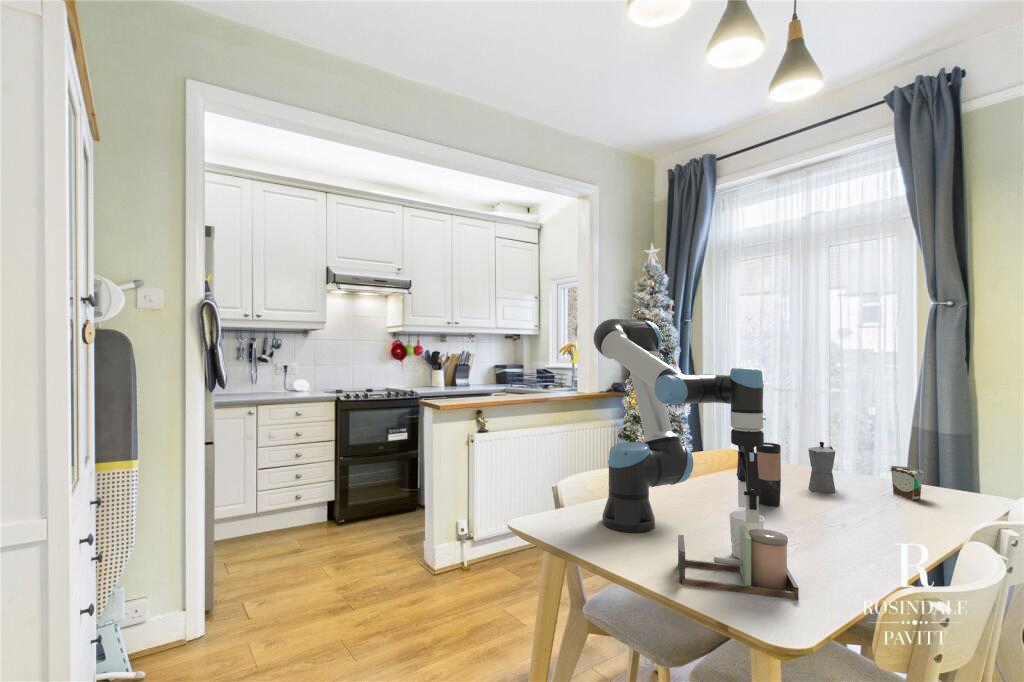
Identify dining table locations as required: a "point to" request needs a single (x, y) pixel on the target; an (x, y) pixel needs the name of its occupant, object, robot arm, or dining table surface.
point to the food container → (907, 482)
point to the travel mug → (769, 473)
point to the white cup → (735, 522)
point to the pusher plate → (741, 556)
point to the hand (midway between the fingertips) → (748, 514)
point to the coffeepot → (822, 469)
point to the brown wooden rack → (727, 586)
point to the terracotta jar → (768, 559)
